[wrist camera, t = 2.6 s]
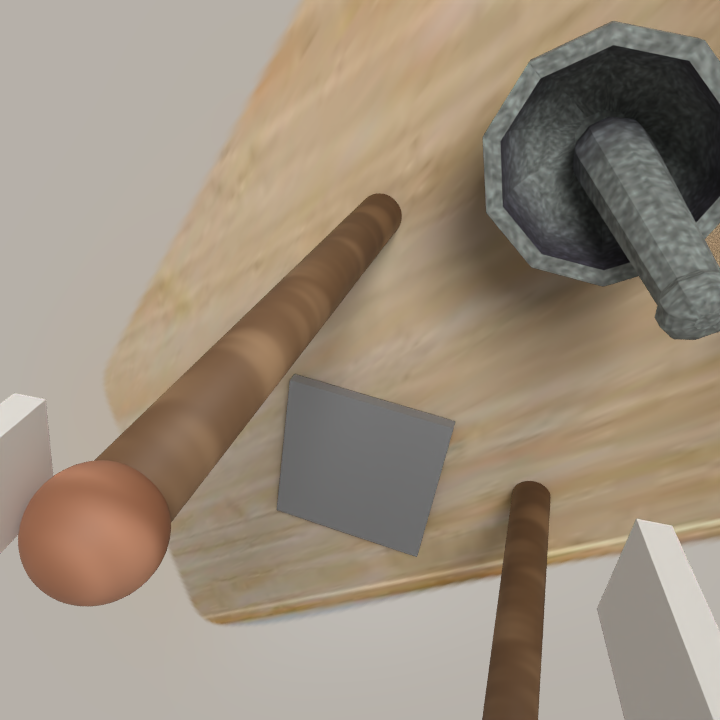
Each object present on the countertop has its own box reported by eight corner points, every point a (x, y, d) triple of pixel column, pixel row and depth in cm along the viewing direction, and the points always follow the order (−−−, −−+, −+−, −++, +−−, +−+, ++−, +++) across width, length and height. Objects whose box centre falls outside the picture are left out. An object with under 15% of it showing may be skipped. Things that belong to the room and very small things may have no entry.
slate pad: (455, 421, 40) (453, 428, 40) (419, 548, 47) (417, 556, 46) (294, 373, 42) (289, 380, 41) (280, 502, 48) (276, 509, 48)
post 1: (413, 193, 34) (112, 558, 12) (403, 249, 36) (121, 658, 14) (357, 180, 34) (-31, 506, 13) (349, 235, 36) (-4, 607, 14)
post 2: (563, 485, 40) (544, 1073, 18) (548, 520, 42) (515, 1097, 20) (513, 470, 41) (437, 1024, 19) (500, 505, 42) (417, 1051, 21)
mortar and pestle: (459, 120, 31) (404, 179, 22) (632, -36, 27) (663, -54, 17) (595, 288, 34) (602, 412, 24) (778, 172, 29) (884, 267, 19)
